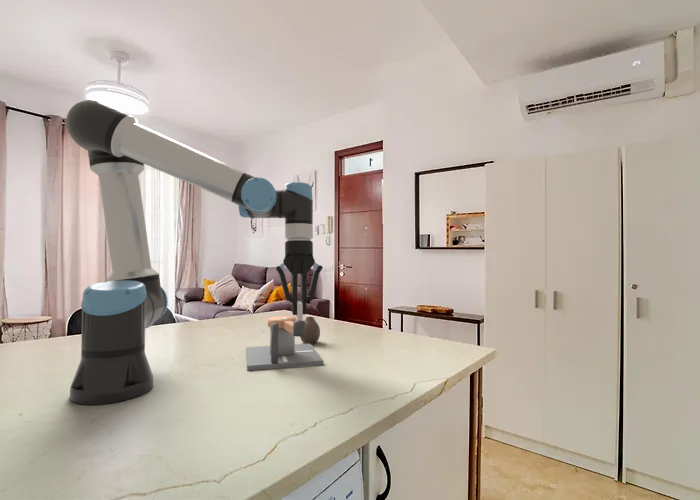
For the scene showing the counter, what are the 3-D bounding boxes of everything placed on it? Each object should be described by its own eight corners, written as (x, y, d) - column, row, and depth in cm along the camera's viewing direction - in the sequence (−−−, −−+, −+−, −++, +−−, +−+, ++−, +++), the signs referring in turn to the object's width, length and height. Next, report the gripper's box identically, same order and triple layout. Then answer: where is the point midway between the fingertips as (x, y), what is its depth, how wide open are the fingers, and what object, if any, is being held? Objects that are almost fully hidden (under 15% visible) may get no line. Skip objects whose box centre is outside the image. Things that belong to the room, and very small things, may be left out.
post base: (323, 364, 102) (323, 322, 102) (247, 370, 97) (247, 325, 97) (310, 347, 122) (310, 311, 122) (245, 351, 116) (246, 313, 116)
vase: (318, 345, 124) (319, 319, 124) (298, 345, 124) (298, 318, 124) (320, 340, 131) (321, 315, 131) (301, 340, 131) (301, 315, 131)
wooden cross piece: (264, 324, 111) (264, 312, 111) (292, 322, 115) (292, 310, 115) (284, 337, 93) (285, 323, 93) (316, 335, 97) (316, 321, 97)
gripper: (319, 240, 108) (319, 323, 108) (273, 240, 104) (273, 325, 104) (325, 239, 101) (325, 327, 100) (276, 239, 97) (276, 330, 97)
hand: (299, 326), depth 102 cm, fingers closed
